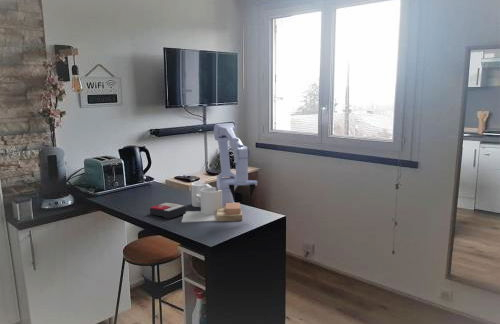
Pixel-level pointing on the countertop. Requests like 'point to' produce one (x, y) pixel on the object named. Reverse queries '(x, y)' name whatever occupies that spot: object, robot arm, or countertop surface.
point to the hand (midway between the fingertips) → (242, 200)
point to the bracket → (206, 197)
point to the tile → (233, 208)
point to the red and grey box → (168, 210)
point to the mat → (198, 217)
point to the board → (227, 215)
